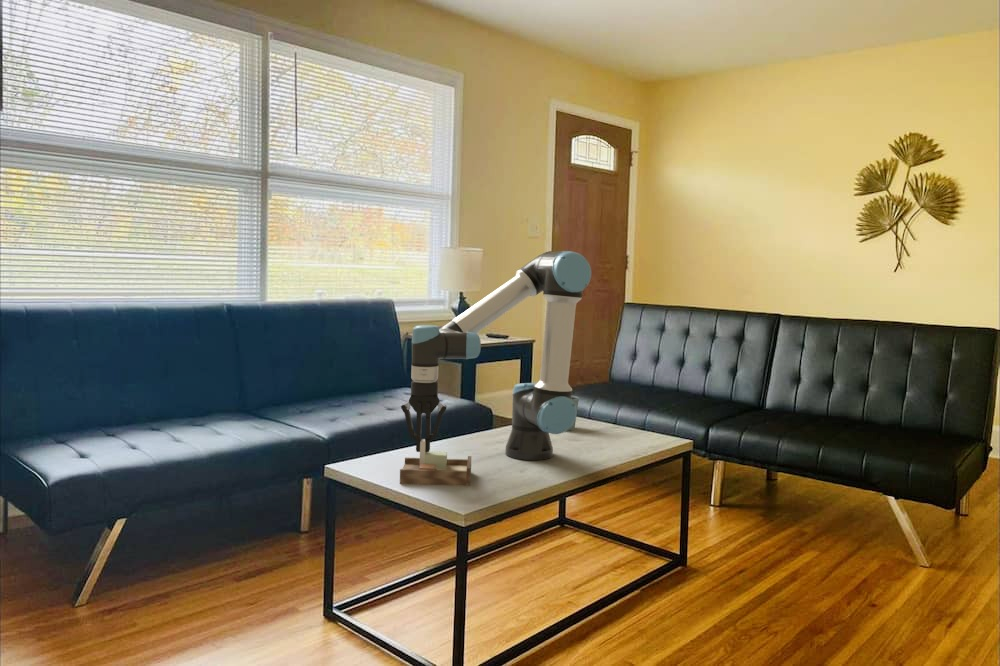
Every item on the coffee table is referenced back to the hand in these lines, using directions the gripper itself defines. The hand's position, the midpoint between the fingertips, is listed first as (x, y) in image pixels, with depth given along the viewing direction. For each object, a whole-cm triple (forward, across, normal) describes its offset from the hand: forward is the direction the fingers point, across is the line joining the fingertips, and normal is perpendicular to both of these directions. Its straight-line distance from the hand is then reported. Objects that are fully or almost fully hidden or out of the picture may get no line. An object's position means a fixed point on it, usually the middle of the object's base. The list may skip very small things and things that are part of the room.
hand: (422, 462), depth 218 cm
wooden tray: (+4, +4, -3) cm, 6 cm away
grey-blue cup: (+4, +46, +67) cm, 82 cm away
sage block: (+1, +4, 0) cm, 4 cm away
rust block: (+3, +2, -6) cm, 7 cm away
